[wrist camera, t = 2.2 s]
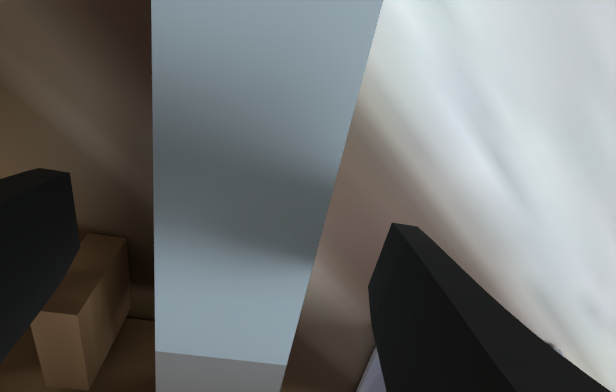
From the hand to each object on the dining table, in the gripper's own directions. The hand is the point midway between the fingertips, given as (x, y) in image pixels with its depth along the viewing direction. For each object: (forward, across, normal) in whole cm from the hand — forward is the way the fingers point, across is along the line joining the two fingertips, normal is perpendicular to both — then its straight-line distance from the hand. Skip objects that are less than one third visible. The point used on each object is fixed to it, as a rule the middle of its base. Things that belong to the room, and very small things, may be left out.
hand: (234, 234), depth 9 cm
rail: (+5, 0, 0) cm, 5 cm away
